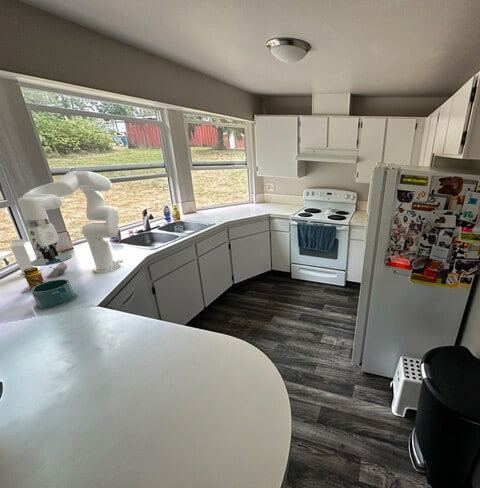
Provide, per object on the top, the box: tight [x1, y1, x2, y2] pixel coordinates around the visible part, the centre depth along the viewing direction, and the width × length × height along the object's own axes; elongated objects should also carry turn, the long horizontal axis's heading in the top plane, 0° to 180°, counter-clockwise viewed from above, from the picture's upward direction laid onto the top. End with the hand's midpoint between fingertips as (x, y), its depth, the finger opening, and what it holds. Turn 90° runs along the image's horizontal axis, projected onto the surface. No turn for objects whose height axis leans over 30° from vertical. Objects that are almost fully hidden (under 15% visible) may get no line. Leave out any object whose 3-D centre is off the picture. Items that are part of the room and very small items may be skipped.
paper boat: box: [47, 262, 68, 278], centre depth 158 cm, size 12×6×9 cm
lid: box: [31, 247, 73, 267], centre depth 127 cm, size 15×15×7 cm
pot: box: [30, 278, 76, 309], centre depth 129 cm, size 14×19×10 cm
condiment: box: [22, 267, 46, 294], centre depth 140 cm, size 7×8×12 cm
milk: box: [10, 238, 41, 275], centre depth 157 cm, size 6×6×22 cm
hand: (51, 257), depth 127 cm, fingers closed on lid, 3 cm apart
